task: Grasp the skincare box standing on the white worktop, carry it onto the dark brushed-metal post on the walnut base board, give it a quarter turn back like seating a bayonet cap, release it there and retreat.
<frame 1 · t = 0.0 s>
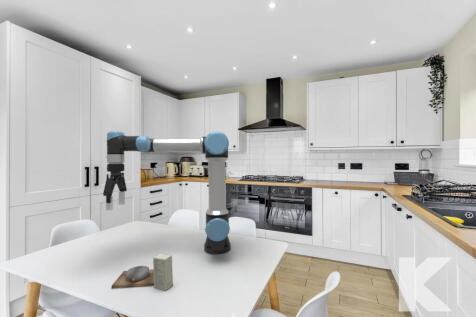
hand: (116, 207, 110), 28 cm above the table, fingers open, 13 cm apart
skincare box: (163, 287, 90), on the table
bayonet base: (137, 279, 96), on the table
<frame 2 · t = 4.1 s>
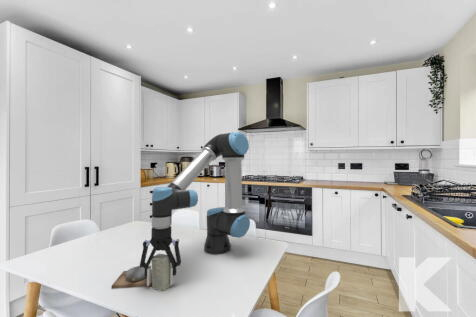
hand: (160, 283, 90), 1 cm above the table, fingers open, 8 cm apart
nothing on the table moved.
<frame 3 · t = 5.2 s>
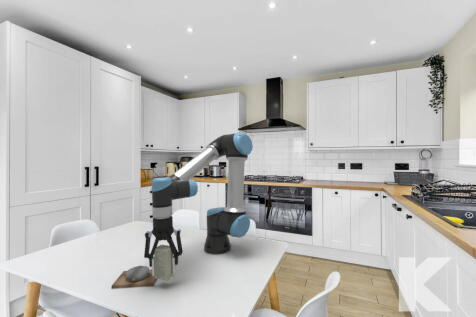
hand: (164, 273, 91), 5 cm above the table, fingers closed on skincare box, 7 cm apart
skincare box: (164, 277, 90), point 3 cm above the table, touching gripper
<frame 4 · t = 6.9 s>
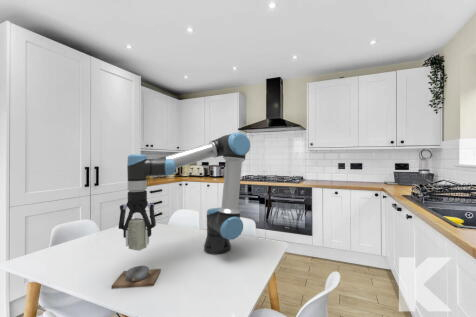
hand: (137, 244, 96), 15 cm above the table, fingers closed on skincare box, 7 cm apart
skincare box: (137, 248, 96), point 13 cm above the table, touching gripper
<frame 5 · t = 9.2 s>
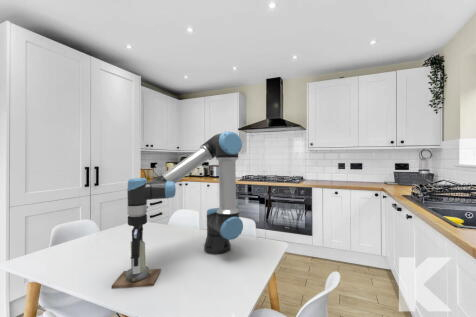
hand: (137, 268, 96), 5 cm above the table, fingers closed on skincare box, 7 cm apart
skincare box: (138, 271, 96), point 4 cm above the table, touching bayonet base, gripper
when the fingers open (5 cm above the table, at t = 9.4 s): skincare box stays where it is, resting on bayonet base.
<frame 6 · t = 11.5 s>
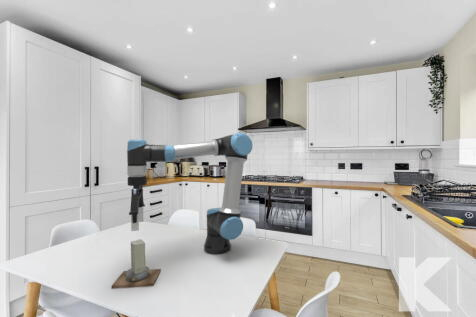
hand: (137, 226, 96), 23 cm above the table, fingers open, 13 cm apart
skincare box: (138, 271, 96), point 3 cm above the table, touching bayonet base
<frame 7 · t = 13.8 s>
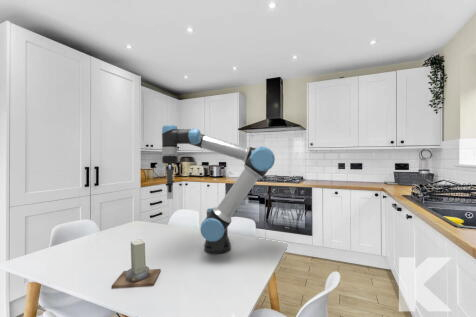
hand: (170, 196, 116), 32 cm above the table, fingers open, 13 cm apart
nothing on the table moved.
at the end: skincare box 0.2 cm from the bayonet base (horizontally); skincare box touching bayonet base; skincare box tilted 0° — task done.
